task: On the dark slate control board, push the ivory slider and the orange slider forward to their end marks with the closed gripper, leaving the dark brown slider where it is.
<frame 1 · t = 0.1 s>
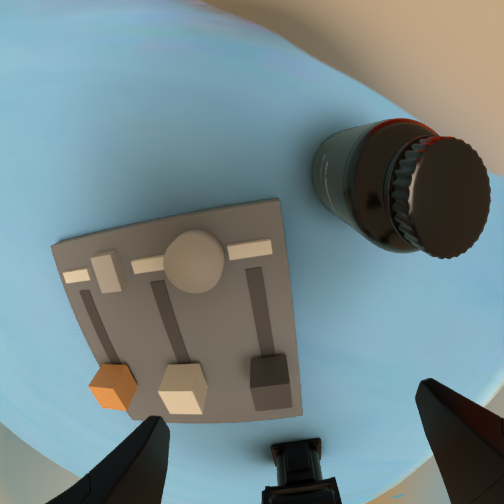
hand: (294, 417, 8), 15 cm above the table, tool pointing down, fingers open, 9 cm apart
control board: (183, 338, 24), on the table
ivory slider: (184, 389, 21), point 4 cm above the table, slide at 0.0 cm
dark brown slider: (271, 383, 21), point 4 cm above the table, slide at 0.0 cm
orange slider: (113, 386, 22), point 4 cm above the table, slide at 0.0 cm
supplement bottle: (353, 175, 20), on the table
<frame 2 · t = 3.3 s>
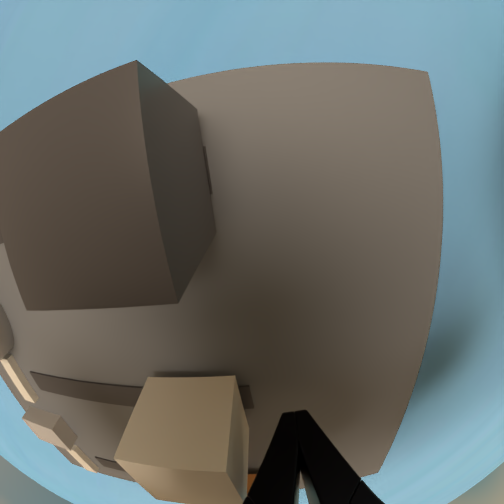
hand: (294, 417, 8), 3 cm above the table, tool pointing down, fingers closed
control board: (148, 372, 11), on the table
ivory slider: (192, 444, 7), point 4 cm above the table, slide at 0.3 cm, touching gripper
dark brown slider: (113, 190, 5), point 4 cm above the table, slide at 0.0 cm
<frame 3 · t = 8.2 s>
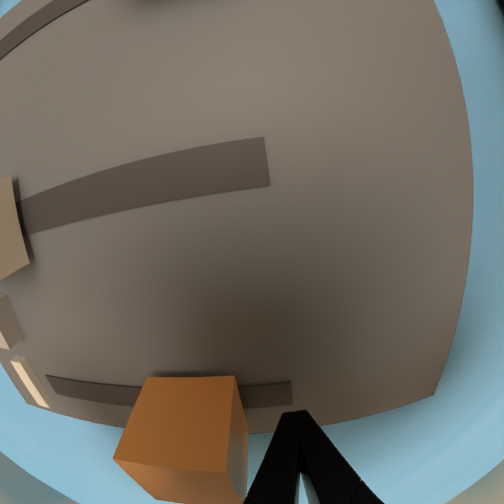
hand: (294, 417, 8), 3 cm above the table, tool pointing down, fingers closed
control board: (125, 187, 8), on the table
orange slider: (192, 444, 7), point 4 cm above the table, slide at 1.7 cm, touching gripper
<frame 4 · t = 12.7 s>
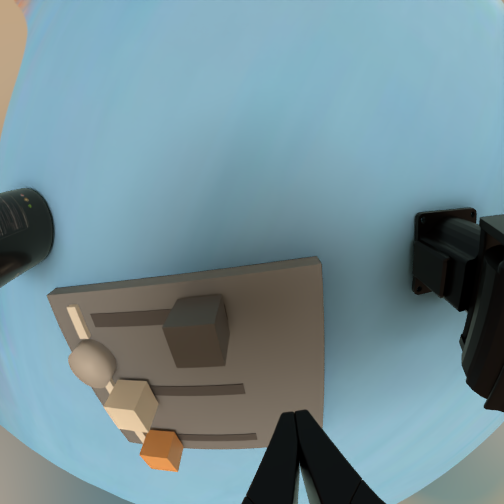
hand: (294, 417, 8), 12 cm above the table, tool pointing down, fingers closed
control board: (194, 379, 22), on the table
ivory slider: (132, 405, 19), point 4 cm above the table, slide at 8.0 cm
dark brown slider: (199, 330, 16), point 4 cm above the table, slide at 0.0 cm
orange slider: (162, 450, 21), point 4 cm above the table, slide at 8.0 cm
supplement bottle: (31, 224, 18), on the table
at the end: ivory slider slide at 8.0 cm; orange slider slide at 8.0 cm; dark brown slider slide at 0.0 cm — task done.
